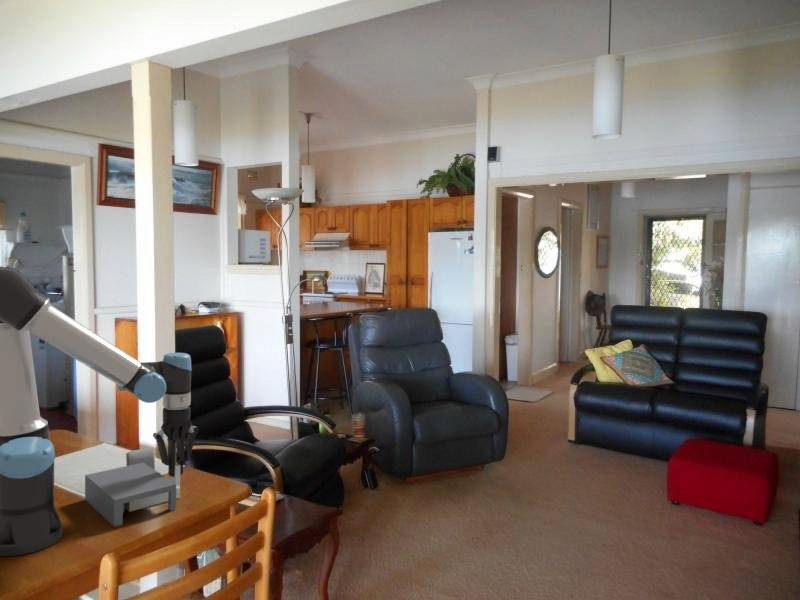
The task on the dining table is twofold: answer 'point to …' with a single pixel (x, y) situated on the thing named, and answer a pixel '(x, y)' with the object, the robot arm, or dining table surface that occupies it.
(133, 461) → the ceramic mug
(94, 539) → the dining table surface
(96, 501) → the low shelf
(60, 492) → the dining table surface
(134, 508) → the ribbed white block
